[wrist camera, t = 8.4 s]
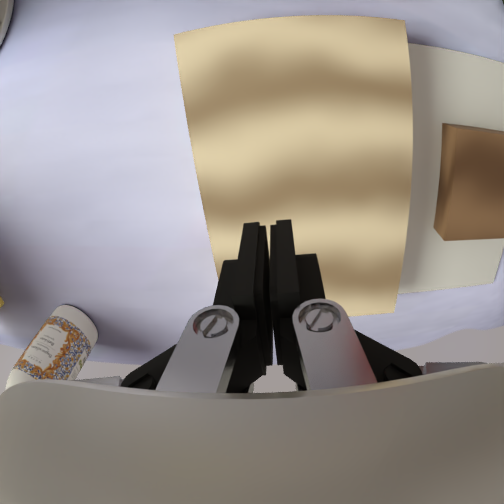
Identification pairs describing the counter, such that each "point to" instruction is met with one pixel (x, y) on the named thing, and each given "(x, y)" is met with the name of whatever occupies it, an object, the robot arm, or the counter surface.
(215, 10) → the counter surface
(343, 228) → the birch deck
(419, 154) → the cream mat
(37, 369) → the bath foam
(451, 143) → the walnut tile
